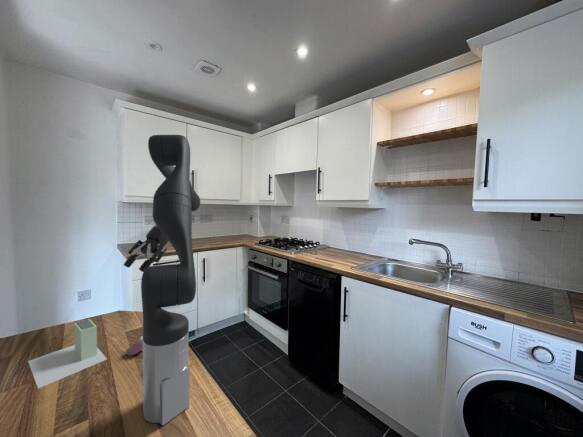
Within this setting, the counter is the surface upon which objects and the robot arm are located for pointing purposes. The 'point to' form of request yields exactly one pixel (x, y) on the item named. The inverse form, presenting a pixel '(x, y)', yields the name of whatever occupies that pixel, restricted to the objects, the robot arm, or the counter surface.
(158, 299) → the robot arm
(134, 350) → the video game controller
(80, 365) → the mat
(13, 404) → the counter surface
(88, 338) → the block
